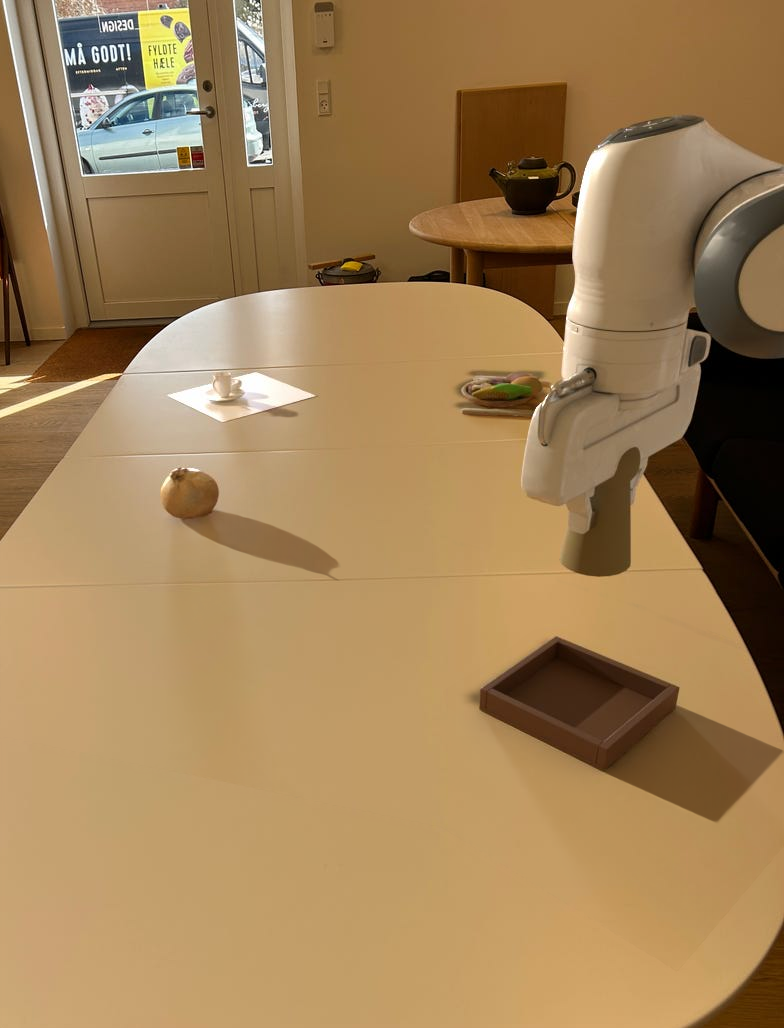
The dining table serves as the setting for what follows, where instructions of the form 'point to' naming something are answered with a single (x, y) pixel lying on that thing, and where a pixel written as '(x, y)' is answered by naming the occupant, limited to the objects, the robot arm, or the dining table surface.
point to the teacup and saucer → (239, 395)
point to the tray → (579, 701)
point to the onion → (189, 493)
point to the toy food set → (501, 393)
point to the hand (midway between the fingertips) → (601, 517)
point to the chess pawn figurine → (606, 526)
